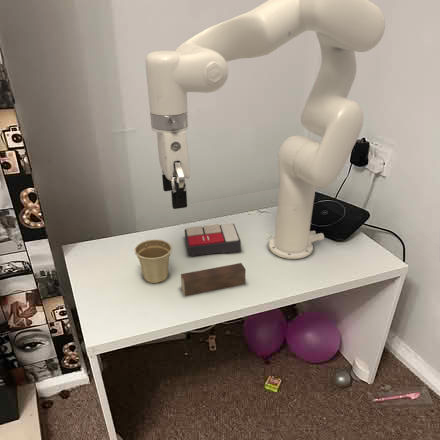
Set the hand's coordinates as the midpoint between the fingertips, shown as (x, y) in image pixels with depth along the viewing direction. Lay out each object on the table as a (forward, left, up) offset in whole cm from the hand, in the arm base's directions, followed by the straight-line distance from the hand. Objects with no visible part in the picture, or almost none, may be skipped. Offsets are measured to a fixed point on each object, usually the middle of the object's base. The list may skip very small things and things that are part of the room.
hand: (174, 198), depth 99 cm
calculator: (-14, -15, -23) cm, 31 cm away
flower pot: (+5, -4, -24) cm, 24 cm away
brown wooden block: (-8, +5, -23) cm, 25 cm away
